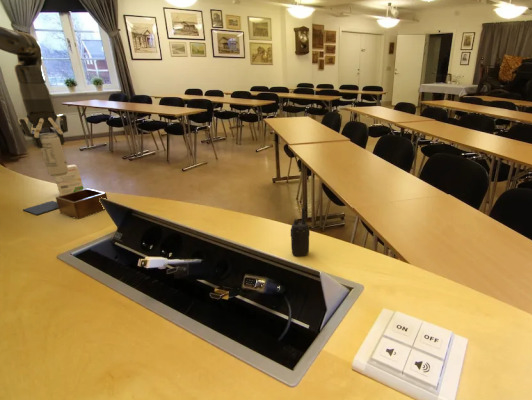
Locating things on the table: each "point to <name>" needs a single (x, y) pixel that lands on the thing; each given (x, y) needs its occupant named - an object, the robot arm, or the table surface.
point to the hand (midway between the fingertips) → (50, 146)
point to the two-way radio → (300, 236)
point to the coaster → (42, 208)
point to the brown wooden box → (80, 203)
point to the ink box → (69, 181)
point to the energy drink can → (53, 154)
